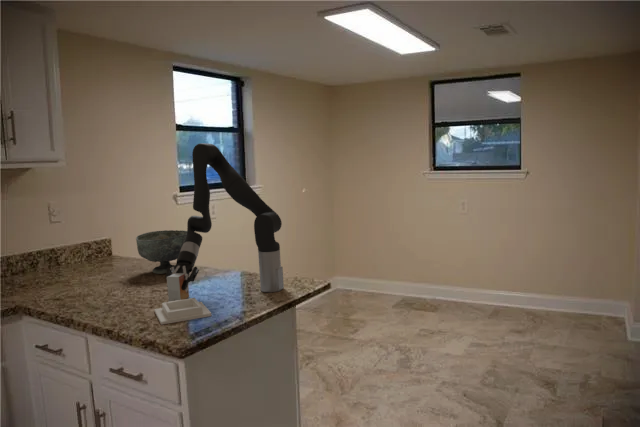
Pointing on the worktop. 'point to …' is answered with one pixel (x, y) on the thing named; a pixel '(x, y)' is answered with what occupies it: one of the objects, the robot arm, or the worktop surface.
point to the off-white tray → (181, 311)
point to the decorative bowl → (161, 247)
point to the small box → (176, 287)
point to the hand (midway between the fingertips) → (176, 289)
